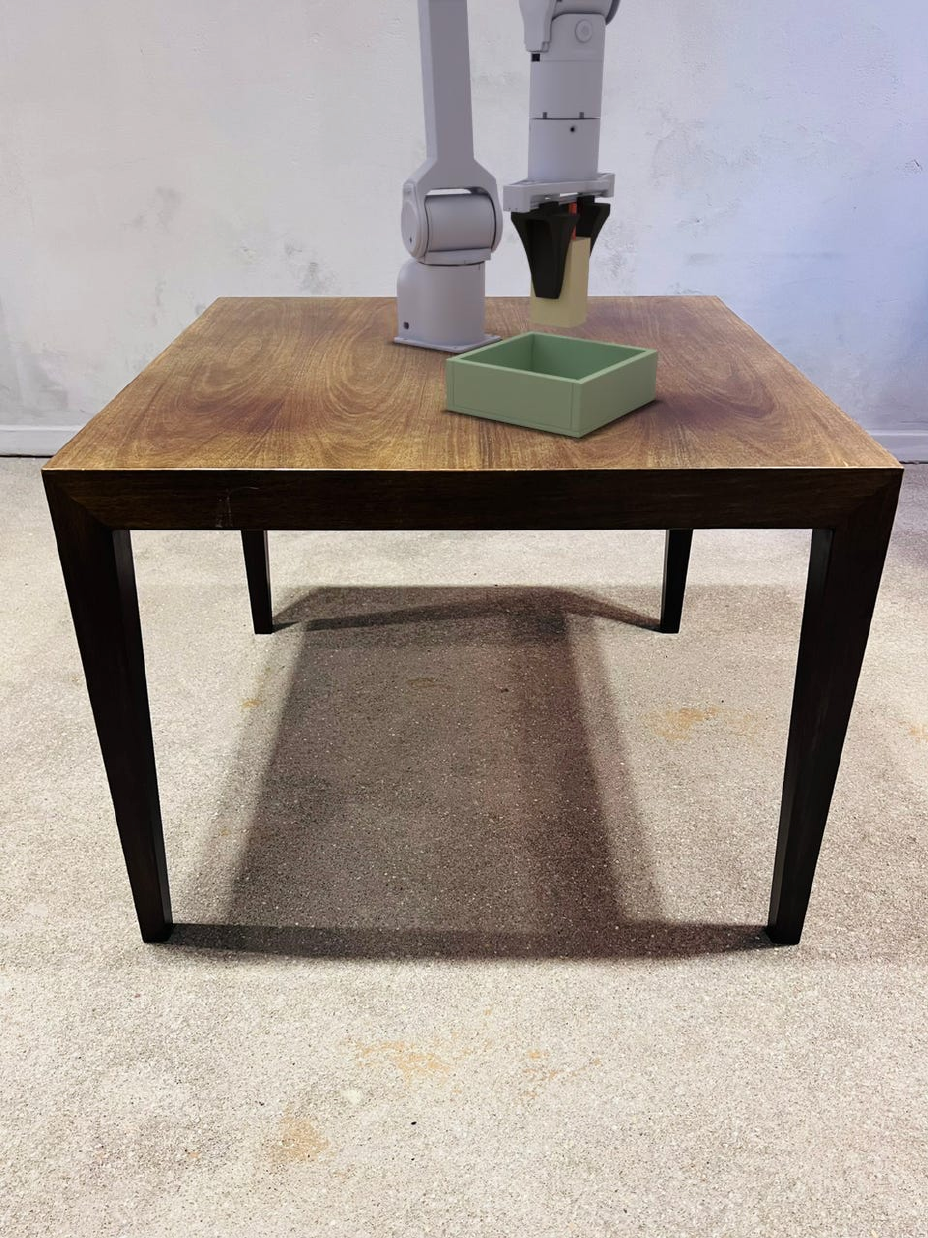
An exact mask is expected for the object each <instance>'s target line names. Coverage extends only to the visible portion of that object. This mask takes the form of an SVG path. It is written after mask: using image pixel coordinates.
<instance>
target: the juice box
mask: <svg viewBox="0 0 928 1238" xmlns="http://www.w3.org/2000/svg"><path fill="white" fill-rule="evenodd" d="M576 209H577V203H570V204H569V213H576ZM575 230H576V226H575V228H574V231H573V234H572V237H571V240H570V243H569V247H568V252H567V256H566V263H565V271H564V279H563V285H562V289H561V293H560V297H559V299H546V298H539V297H536V296H535V292H534V288H533V283H532V278H531V277H530V288H529V289H530V293H529V324H533V325H539V326H540V325H541V326H548V327H555V328H561V329H572V328H575V327H577V326H581V325H584V324H586V323H587V312H588V311H587V310H588V294H589V293H588V291H589V272H590V259H591V256H590V239H591V238H585V237H575ZM589 258H590V259H589Z"/></svg>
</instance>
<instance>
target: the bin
mask: <svg viewBox="0 0 928 1238" xmlns="http://www.w3.org/2000/svg"><path fill="white" fill-rule="evenodd" d="M658 360H659V350H658V349H652V348H647V347H641V346H633V345H626V344H620V343H614V342H607V341H601V340H595V339H594V340H592V339H587V338H580V337H574V336H568V335H562V334H554V333H548V332H542V331H534V330H530V331H527V332H523V333H521V334H517V335H515V336H512V337H508V338H505V339H503V340H500V341H497V342H494V343H491V344H488V345H485V346H482V347H479V348H476V349H473V350H470V351H467V352H464V353H460V354H458V355H454V356H452V357H449V358H446V359H445V384H446V385H445V395H446V396H445V397H446V399H445V401H446V402H445V403H446V411H449V412H454V413H455V412H456V413H460V414H464V415H469V416H473V417H478V418H483V419H487V420H492V421H498V422H501V423H505V424H511V425H516V426H519V427H526V428H531V429H535V430H540V431H544V432H549V433H553V434H558V435H562V436H563V435H564V436H567V437H573V438H577V439H579V438H582V437H584V436H585V435H587V434H589V433H591V432H593V431H596V430H598V429H599V428H601V427H603V426H605V425H608V424H609V423H611V422H613V421H615V420H617V419H619V418H621V417H623V416H624V415H627V414H629V413H630V412H633V411H634V410H635V411H636V409H639V408H640V407H643V406H644V405H646V404H648V403H650V402H652V401H654V400H655V396H656V395H655V393H656V385H657V384H656V382H657V372H658Z"/></svg>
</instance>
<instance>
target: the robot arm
mask: <svg viewBox="0 0 928 1238" xmlns="http://www.w3.org/2000/svg"><path fill="white" fill-rule="evenodd" d="M621 1H622V0H518V3H519V4H518V5H519V10H520V14H521V18H522V21H523V44H524V46H525V47H524V49H525V52H528V53H530V67H529V108H528V109H529V110H528V111H529V112H528V118H529V119H528V143H527V144H528V145H527V146H528V147H527V148H528V149H527V156H528V157H527V177H526V178H523V179H520V180H517V181H515V182H511V183H506V184H503V185H502V206H501V203H500V198H499V192H498V191H499V190H498V184H497V178H496V177H495V176H494V175H493V174H492V173H491V172H490V171H488V169H486V168H485V167H484V166H483V165H482V164H480V163H479V162H478V161H477V160H476V158H475V153H474V151H475V150H474V149H475V148H474V132H473V131H474V130H473V108H472V107H473V105H472V84H471V81H472V80H471V63H470V60H471V59H470V40H469V38H470V37H469V18H468V17H469V15H468V14H469V13H468V0H416V3H417V16H418V17H417V20H418V33H419V35H418V36H419V49H420V51H419V52H420V67H421V68H420V69H421V83H422V101H423V117H424V133H425V150H426V151H425V152H426V159H425V161H424V162H423V163H421V164H420V165H419V166H418V168H416V169H415V171H413V172H412V173H411V174H410V175H409V176H408V177H407V178H406V179H405V181H404V183H403V185H402V206H401V212H400V230H401V231H400V232H401V237H402V242H403V245H404V248H405V249H406V252H407V253H408V254H409V255H410V258H408V259H407V260H406V261H405V262H404V263H402V266H401V267H400V269H399V272H398V276H397V281H396V305H397V331H398V336H396V337H393V342H394V343H396V344H402V345H407V346H414V347H419V348H420V347H421V348H425V349H431V350H437V351H442V352H448V353H454V354H464V353H467V352H470V351H473V350H476V349H479V348H482V347H485V346H488V345H490V344H493V343H496V342H499V341H502V340H501V339H502V338H501V336H500V335H497V334H489V333H486V261H492V254H493V253H495V252H496V250H498V249H497V248H498V247H499V245H500V244H501V241H502V237H503V233H504V217H503V216H504V215H503V212H509V213H510V221H511V223H512V225H513V227H514V228H515V230H516V233H517V234H518V237H519V239H520V241H521V244H522V246H523V250H524V253H525V256H526V259H527V264H528V267H529V268H528V269H529V272H530V279H531V278H532V283H533V288H534V292H535V296H536V297H539V298H546V299H559V297H560V293H561V289H562V285H563V279H564V271H565V263H566V256H567V252H568V247H569V243H570V240H571V237H572V234H573V231H574V228H575V226H576V230H575V237H585V238H591V239H590V258H589V260H590V259H591V256H592V252H593V250H594V248H595V244H596V242H597V240H598V237H599V235H600V233H601V231H602V229H603V226H604V225H605V224H606V221H607V220H608V218H609V217H610V215H611V207H612V206H611V203H609V202H596V199H600V198H603V199H609V198H614V197H615V184H616V182H615V181H616V173H614V172H599V158H600V157H599V156H600V155H599V154H600V153H599V152H600V136H601V134H600V133H601V117H602V100H603V99H602V98H603V83H604V61H605V45H606V27H607V26H608V25H609V24H610V23H612V21H613V19H614V18H615V16H616V14H617V13H618V10H619V8H620V4H621ZM439 190H440V191H441V190H466V191H469V192H466V193H442V194H441V193H440V194H429V193H430V192H431V191H439ZM563 194H568V195H563ZM561 195H562V196H561ZM570 203H577V209H576V213H569V204H570Z"/></svg>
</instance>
